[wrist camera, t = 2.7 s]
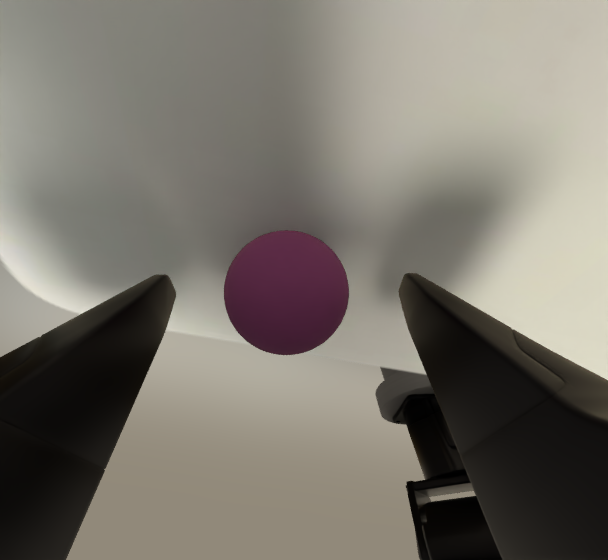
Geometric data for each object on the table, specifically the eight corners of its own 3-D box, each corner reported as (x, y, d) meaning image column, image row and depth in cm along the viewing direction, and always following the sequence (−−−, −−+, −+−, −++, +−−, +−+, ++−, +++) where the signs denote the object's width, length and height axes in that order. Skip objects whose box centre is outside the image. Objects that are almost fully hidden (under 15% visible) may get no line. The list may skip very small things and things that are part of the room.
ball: (333, 294, 11) (349, 378, 8) (245, 295, 11) (224, 381, 8) (344, 210, 9) (378, 283, 5) (229, 210, 9) (185, 284, 5)
